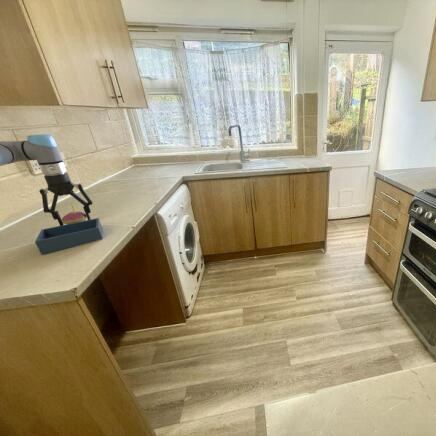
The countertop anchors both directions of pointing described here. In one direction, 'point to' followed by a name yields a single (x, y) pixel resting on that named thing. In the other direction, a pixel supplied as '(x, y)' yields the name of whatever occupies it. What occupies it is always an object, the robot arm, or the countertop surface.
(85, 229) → the bin
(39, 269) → the countertop surface
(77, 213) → the cupcake
